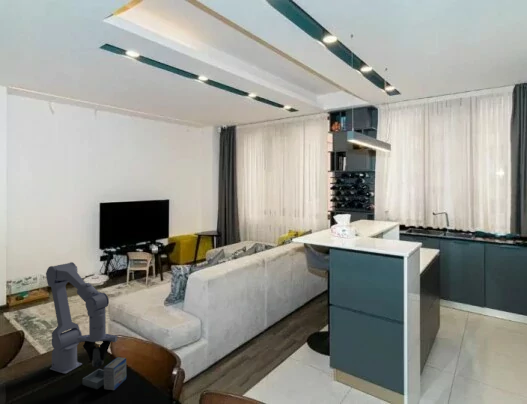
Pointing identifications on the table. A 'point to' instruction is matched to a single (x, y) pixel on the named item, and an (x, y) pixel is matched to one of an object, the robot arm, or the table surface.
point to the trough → (94, 379)
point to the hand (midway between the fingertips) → (97, 359)
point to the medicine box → (114, 373)
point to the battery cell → (96, 356)
